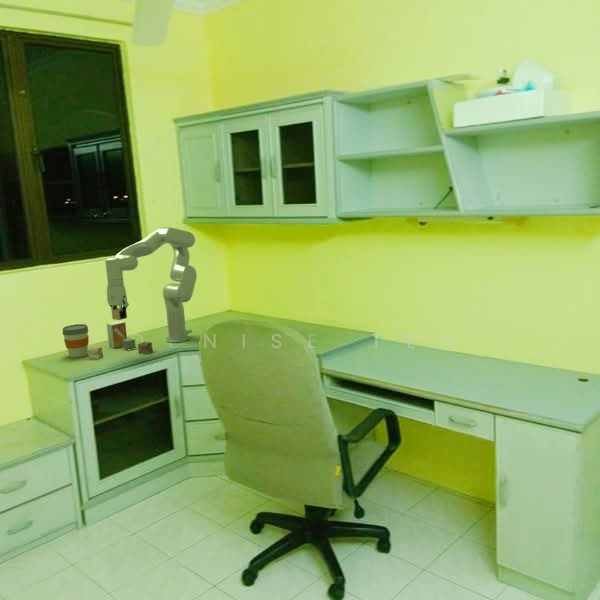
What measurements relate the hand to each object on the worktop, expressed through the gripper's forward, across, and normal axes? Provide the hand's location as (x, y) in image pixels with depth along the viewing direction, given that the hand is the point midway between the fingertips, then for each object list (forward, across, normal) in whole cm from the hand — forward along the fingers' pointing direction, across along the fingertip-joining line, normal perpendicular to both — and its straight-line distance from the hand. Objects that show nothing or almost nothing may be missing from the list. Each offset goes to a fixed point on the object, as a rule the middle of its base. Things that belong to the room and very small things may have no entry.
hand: (119, 317), depth 301 cm
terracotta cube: (+1, 0, 0) cm, 1 cm away
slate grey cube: (+21, -9, +11) cm, 25 cm away
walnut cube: (+21, +5, +10) cm, 23 cm away
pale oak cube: (+20, -12, -8) cm, 25 cm away
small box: (+21, -19, +12) cm, 30 cm away
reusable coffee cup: (+21, -25, -9) cm, 34 cm away
